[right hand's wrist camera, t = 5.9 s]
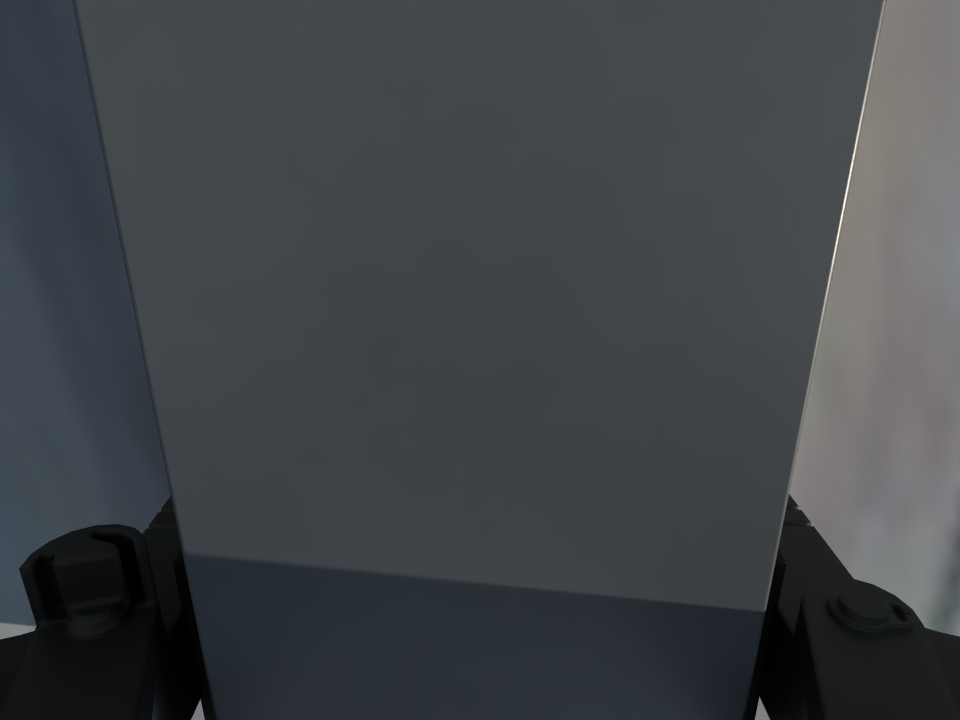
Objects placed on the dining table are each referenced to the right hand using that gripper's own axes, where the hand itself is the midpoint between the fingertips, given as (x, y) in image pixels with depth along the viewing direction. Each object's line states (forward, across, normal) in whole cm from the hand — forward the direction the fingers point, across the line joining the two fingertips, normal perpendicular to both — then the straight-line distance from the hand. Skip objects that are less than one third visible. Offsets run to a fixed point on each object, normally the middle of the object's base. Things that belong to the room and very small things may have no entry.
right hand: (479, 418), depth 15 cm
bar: (0, 0, -19) cm, 19 cm away
